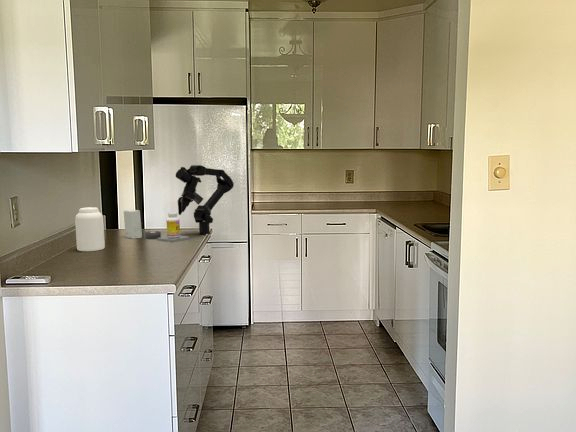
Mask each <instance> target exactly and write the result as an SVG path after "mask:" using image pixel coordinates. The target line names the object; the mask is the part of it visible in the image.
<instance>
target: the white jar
mask: <svg viewBox="0 0 576 432" xmlns="http://www.w3.org/2000/svg"><path fill="white" fill-rule="evenodd" d="M74 221H75V223H74V224H75V238H76V249H77V251H79V252H82V253H83V252H85V253H86V252H97V251H101V250H104V249H105V247H106V244H105V227H104V226H105V224H104V216H103V213H101V211H99V207H95V206H89V207H81V208H79V210H78V213H77V214H76V215H75V218H74Z"/></svg>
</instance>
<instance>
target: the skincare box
mask: <svg viewBox="0 0 576 432" xmlns="http://www.w3.org/2000/svg"><path fill="white" fill-rule="evenodd" d="M123 219H124V231H125V238H128V239H132V240H133V239H141V238H143V231H142V222H141V221H142V220H141V211H140V210H139V209H129V210H123Z"/></svg>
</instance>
